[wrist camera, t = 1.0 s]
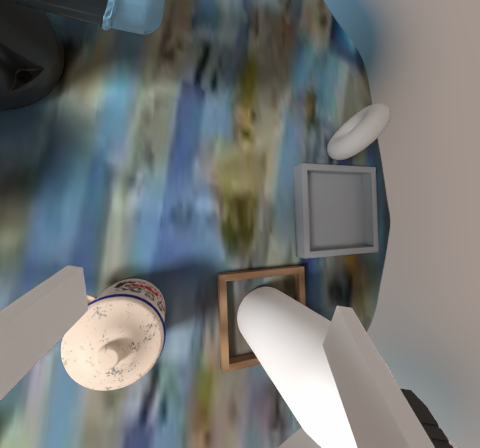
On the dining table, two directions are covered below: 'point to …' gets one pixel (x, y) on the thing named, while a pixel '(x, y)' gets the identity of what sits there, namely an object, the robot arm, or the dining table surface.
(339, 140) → the donut
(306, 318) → the alcohol
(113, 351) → the teacup with lid
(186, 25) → the dining table surface
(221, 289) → the square wooden frame
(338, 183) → the tray
